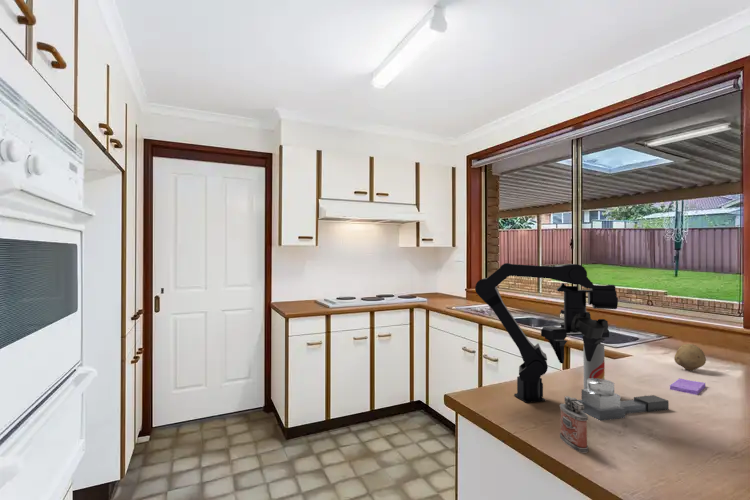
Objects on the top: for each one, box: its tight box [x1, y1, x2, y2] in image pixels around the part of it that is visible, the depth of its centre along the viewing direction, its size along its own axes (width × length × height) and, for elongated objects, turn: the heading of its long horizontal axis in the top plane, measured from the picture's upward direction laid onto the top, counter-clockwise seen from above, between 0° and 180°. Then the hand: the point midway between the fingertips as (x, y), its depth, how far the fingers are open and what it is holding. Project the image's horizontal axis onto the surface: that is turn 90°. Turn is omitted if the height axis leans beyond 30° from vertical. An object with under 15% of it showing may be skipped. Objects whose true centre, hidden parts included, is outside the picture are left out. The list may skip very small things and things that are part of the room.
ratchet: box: [577, 394, 670, 422], centre depth 107 cm, size 24×8×5 cm, turn 104°
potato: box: [673, 343, 707, 372], centre depth 146 cm, size 9×9×10 cm
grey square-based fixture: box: [581, 378, 621, 410], centre depth 105 cm, size 6×6×6 cm
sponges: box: [669, 378, 706, 396], centre depth 126 cm, size 7×13×2 cm, turn 131°
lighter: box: [559, 395, 589, 454], centre depth 87 cm, size 8×3×10 cm, turn 5°
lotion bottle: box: [583, 341, 606, 389], centre depth 121 cm, size 6×6×20 cm
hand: (575, 362), depth 111 cm, fingers open, 9 cm apart
